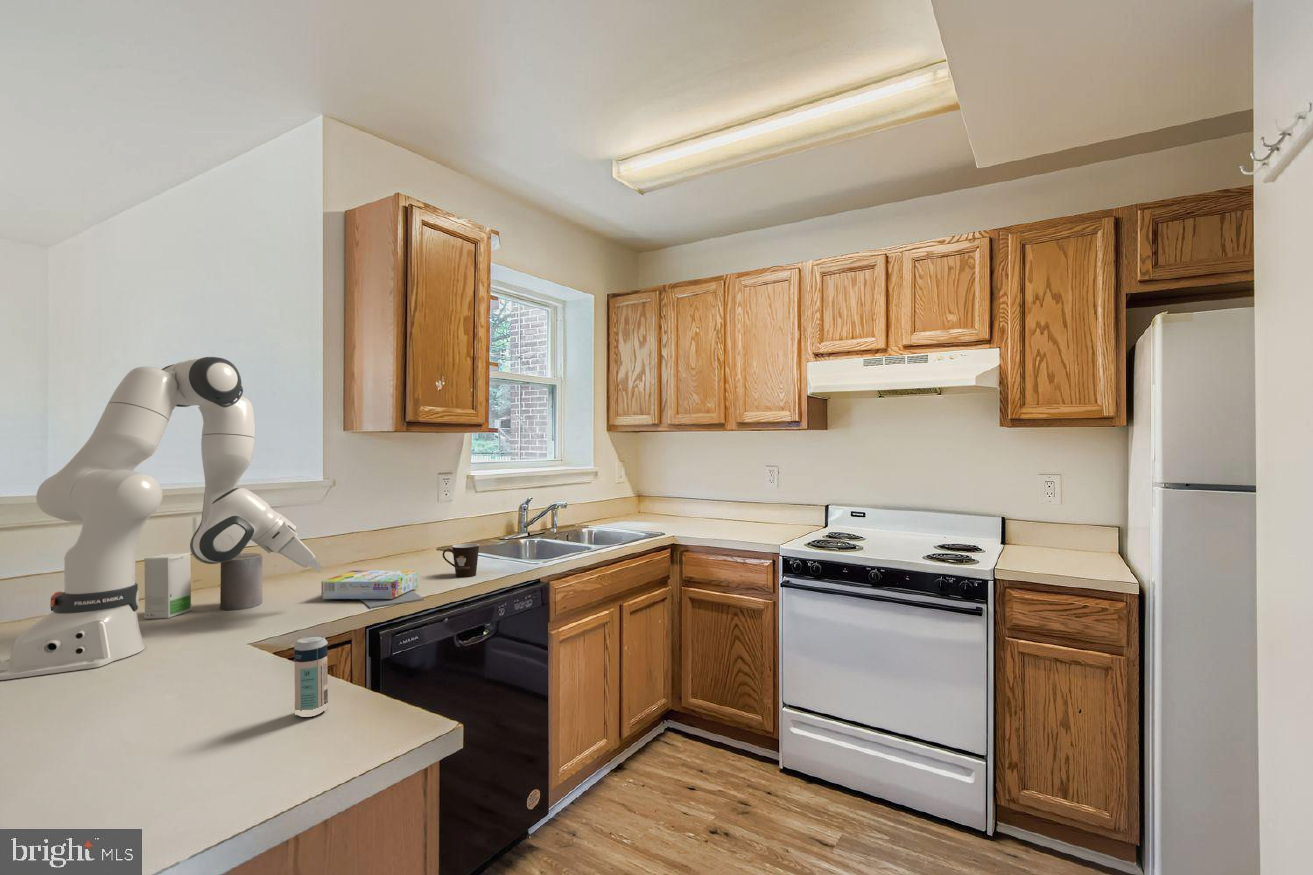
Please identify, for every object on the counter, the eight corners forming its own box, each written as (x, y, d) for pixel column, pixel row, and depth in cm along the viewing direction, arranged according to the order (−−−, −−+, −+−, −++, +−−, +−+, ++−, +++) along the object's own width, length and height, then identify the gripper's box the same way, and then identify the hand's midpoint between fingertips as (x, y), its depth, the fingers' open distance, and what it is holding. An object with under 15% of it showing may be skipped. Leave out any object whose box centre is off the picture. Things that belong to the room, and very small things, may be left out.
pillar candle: (212, 607, 166) (212, 552, 166) (250, 599, 175) (250, 546, 175) (232, 612, 162) (232, 555, 162) (270, 603, 170) (270, 549, 170)
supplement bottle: (321, 704, 103) (320, 632, 103) (333, 711, 99) (332, 637, 100) (289, 714, 99) (288, 639, 99) (301, 722, 96) (300, 645, 96)
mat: (370, 608, 163) (370, 606, 163) (356, 596, 177) (356, 594, 177) (423, 599, 172) (423, 598, 172) (407, 588, 185) (407, 587, 185)
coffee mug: (485, 574, 204) (484, 544, 205) (464, 579, 197) (464, 548, 197) (461, 570, 211) (461, 541, 211) (440, 575, 203) (440, 545, 203)
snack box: (392, 601, 169) (418, 587, 184) (392, 581, 169) (418, 569, 184) (320, 600, 172) (352, 586, 187) (320, 580, 172) (352, 568, 187)
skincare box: (168, 618, 156) (167, 557, 156) (142, 619, 156) (141, 558, 156) (192, 610, 164) (192, 552, 164) (168, 610, 164) (167, 552, 164)
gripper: (264, 540, 165) (305, 572, 170) (270, 549, 148) (316, 584, 154) (283, 522, 168) (323, 554, 173) (292, 529, 151) (336, 564, 157)
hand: (320, 568), depth 164 cm, fingers closed
